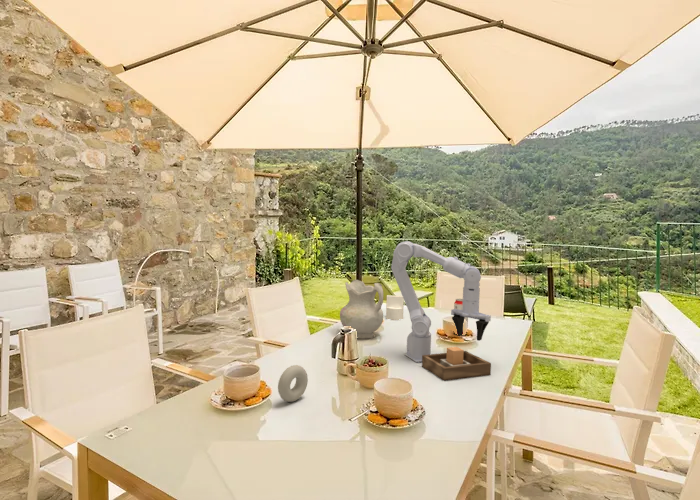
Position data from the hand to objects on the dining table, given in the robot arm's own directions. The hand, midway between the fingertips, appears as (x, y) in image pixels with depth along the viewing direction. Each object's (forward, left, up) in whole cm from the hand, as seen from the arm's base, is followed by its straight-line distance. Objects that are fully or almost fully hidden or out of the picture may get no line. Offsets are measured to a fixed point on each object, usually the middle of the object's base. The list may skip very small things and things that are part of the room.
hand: (469, 337), depth 149 cm
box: (+5, -9, -9) cm, 14 cm away
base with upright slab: (-72, +6, -10) cm, 73 cm away
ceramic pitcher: (-45, -23, -10) cm, 51 cm away
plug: (+5, -9, -9) cm, 14 cm away
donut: (+12, -67, -10) cm, 69 cm away
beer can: (-35, +21, -10) cm, 42 cm away
